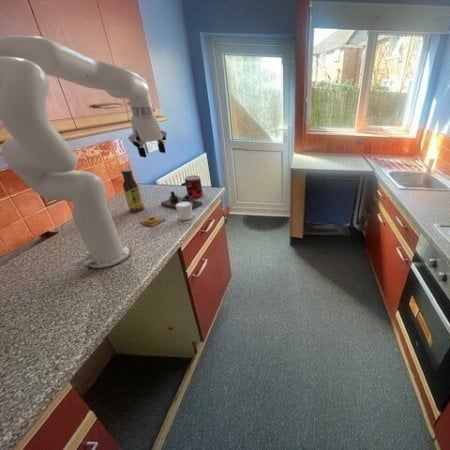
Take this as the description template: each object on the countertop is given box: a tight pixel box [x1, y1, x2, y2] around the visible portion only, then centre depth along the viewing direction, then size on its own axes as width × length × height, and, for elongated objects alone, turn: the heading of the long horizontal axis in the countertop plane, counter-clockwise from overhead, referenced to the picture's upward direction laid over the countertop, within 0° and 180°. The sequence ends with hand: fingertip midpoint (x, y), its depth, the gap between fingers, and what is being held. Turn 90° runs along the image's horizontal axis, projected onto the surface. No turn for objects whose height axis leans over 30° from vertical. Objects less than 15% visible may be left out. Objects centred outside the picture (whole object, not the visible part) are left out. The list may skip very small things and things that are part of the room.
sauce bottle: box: [121, 169, 145, 213], centre depth 120 cm, size 6×6×20 cm
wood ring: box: [181, 196, 194, 202], centre depth 127 cm, size 5×5×1 cm
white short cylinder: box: [175, 201, 193, 221], centre depth 117 cm, size 7×7×7 cm
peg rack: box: [160, 190, 203, 211], centre depth 130 cm, size 10×18×6 cm, turn 67°
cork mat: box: [140, 217, 165, 227], centre depth 114 cm, size 7×7×1 cm
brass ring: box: [144, 216, 159, 224], centre depth 113 cm, size 5×5×1 cm
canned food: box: [184, 174, 204, 199], centre depth 140 cm, size 8×8×11 cm
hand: (153, 154), depth 109 cm, fingers open, 9 cm apart
